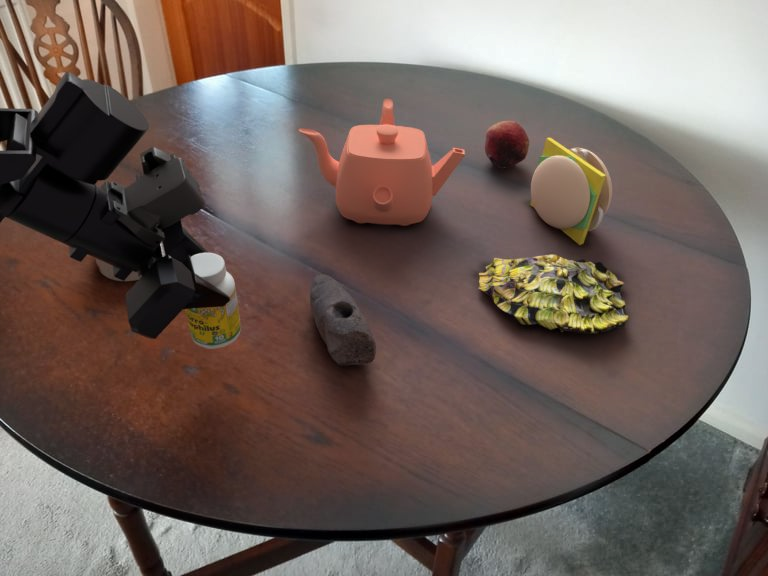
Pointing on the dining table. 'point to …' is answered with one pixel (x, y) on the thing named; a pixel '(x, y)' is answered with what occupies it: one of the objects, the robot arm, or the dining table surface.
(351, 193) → the teapot
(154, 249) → the robot arm
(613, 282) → the scaly yellow mound
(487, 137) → the fruit
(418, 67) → the dining table surface
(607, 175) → the hamburger
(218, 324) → the supplement bottle
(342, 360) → the perforated stone tool
